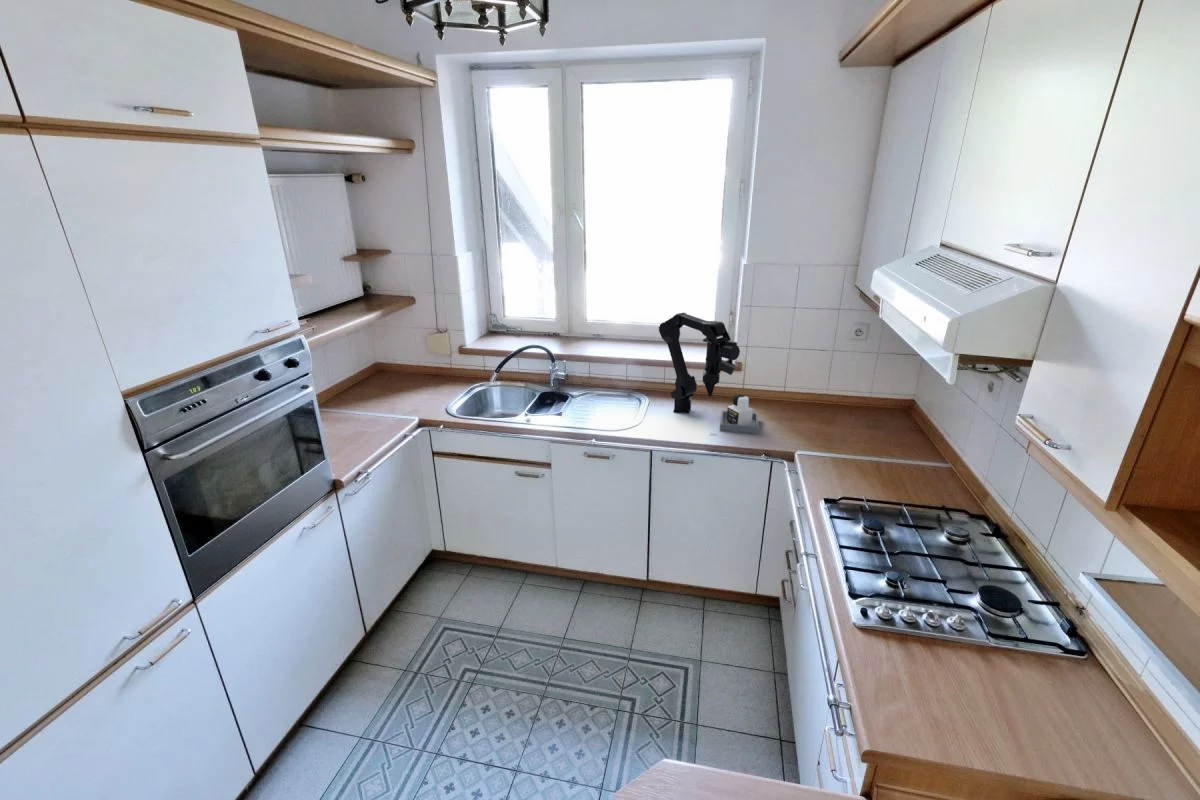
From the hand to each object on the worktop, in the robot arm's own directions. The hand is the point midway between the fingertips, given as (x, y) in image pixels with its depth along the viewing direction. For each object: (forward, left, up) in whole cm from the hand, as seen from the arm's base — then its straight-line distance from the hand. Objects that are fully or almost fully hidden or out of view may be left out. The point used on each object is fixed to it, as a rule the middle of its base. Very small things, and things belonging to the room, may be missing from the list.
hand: (711, 391), depth 225 cm
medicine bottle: (+12, -2, -13) cm, 17 cm away
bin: (+12, -2, -13) cm, 18 cm away
